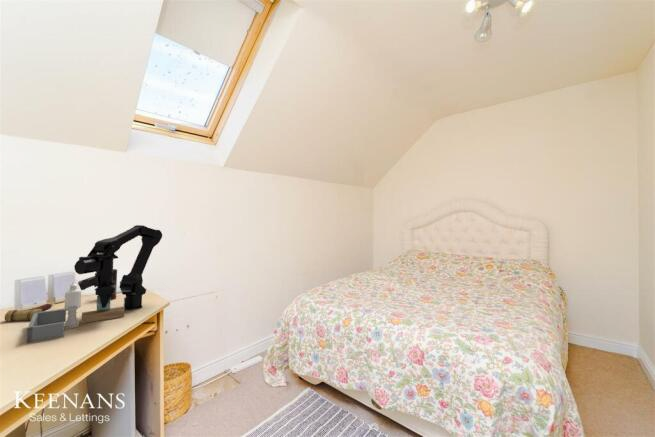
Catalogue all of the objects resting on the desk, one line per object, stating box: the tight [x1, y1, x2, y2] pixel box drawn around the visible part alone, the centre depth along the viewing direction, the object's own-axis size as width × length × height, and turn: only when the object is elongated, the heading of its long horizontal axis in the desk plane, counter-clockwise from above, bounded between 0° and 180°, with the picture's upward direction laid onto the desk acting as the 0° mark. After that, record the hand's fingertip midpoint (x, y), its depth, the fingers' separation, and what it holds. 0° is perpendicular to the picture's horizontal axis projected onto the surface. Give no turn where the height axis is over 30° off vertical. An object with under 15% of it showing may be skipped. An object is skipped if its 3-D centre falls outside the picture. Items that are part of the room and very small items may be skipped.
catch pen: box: [26, 308, 67, 344], centre depth 108 cm, size 9×19×5 cm, turn 41°
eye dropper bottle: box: [64, 281, 82, 310], centre depth 135 cm, size 4×6×12 cm
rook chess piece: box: [64, 306, 80, 330], centre depth 113 cm, size 4×4×8 cm
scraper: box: [81, 295, 125, 324], centre depth 123 cm, size 5×14×9 cm, turn 131°
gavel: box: [4, 303, 54, 323], centre depth 126 cm, size 21×5×10 cm
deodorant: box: [110, 268, 118, 301], centre depth 150 cm, size 6×6×15 cm
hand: (103, 306), depth 124 cm, fingers closed on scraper, 3 cm apart
